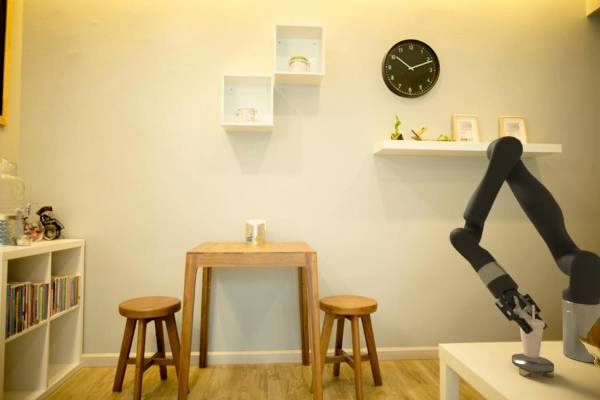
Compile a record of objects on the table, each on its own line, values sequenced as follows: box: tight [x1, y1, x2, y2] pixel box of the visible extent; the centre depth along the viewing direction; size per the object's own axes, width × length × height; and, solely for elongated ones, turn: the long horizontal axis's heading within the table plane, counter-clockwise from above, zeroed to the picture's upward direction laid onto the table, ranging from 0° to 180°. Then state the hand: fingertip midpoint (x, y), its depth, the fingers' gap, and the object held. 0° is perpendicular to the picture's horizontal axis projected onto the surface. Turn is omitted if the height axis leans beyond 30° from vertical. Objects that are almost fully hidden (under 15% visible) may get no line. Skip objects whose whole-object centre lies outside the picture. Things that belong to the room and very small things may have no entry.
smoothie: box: [519, 305, 546, 358], centre depth 100 cm, size 6×6×14 cm
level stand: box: [511, 353, 555, 379], centre depth 99 cm, size 10×10×3 cm
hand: (537, 330), depth 98 cm, fingers closed on smoothie, 6 cm apart
